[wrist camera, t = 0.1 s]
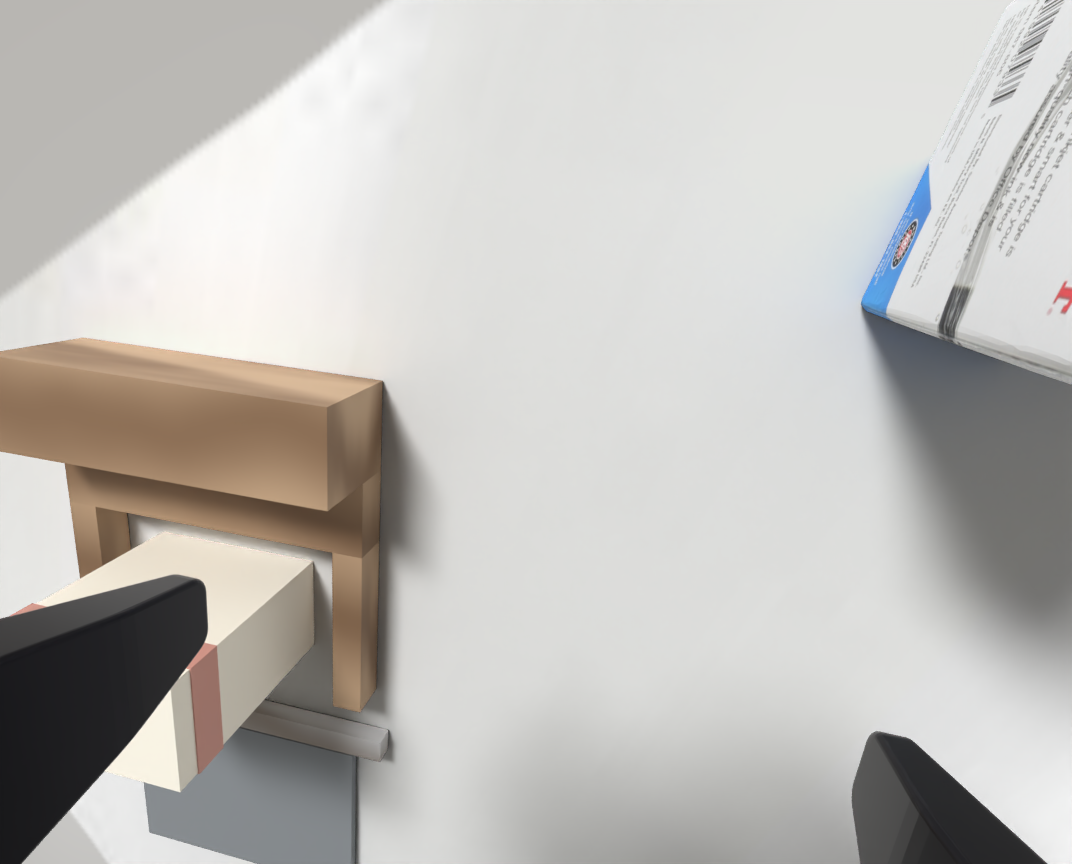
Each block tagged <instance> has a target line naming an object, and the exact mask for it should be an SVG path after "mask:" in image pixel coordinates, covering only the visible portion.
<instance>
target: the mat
mask: <svg viewBox="0 0 1072 864" xmlns="http://www.w3.org/2000/svg"><path fill="white" fill-rule="evenodd" d="M144 789H145V797H146V806H147V815H148V824H149V832H150V833H153V834H157V835H160V836H164V837H167V838H171V839H174V840H177V841H181V842H184V843H188V844H191V845H195V846H198V847H202V848H205V849H208V850H212V851H215V852H219V853H222V854H226V855H229V856H233V857H236V858H240V859H243V860H246V861H250V862H253V863H257V864H355V815H356V756H354V755H350V754H346V753H342V752H338V751H334V750H330V749H326V748H322V747H318V746H314V745H310V744H306V743H302V742H298V741H294V740H290V739H286V738H282V737H278V736H274V735H270V734H266V733H262V732H258V731H254V730H250V729H246V728H242V727H239V728H238V729H237V730H236V731H235V732H234V734H233V735H232V736H231V737H230V738H229V739H228V740H227V741H226V742H225V743H224V748H223V749H222V750H221V751H220V752H219V753H218V754H217V755H216V757H215V758H214V759H213V760H212V761H211V762H210V763H209V764H208V765H207V767H206V768H205V769H204V770H203V771H202V772H201V773H200V774H196V776H195V777H194V778H193V779H192V780H191V781H190V782H189V783H188V784H187V785H186V787H185V788H184V789H183V790H182V791H181V792H177V791H174V790H170V789H166V788H163V787H159V786H156V785H152V784H148V783H145V782H144Z"/></svg>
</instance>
